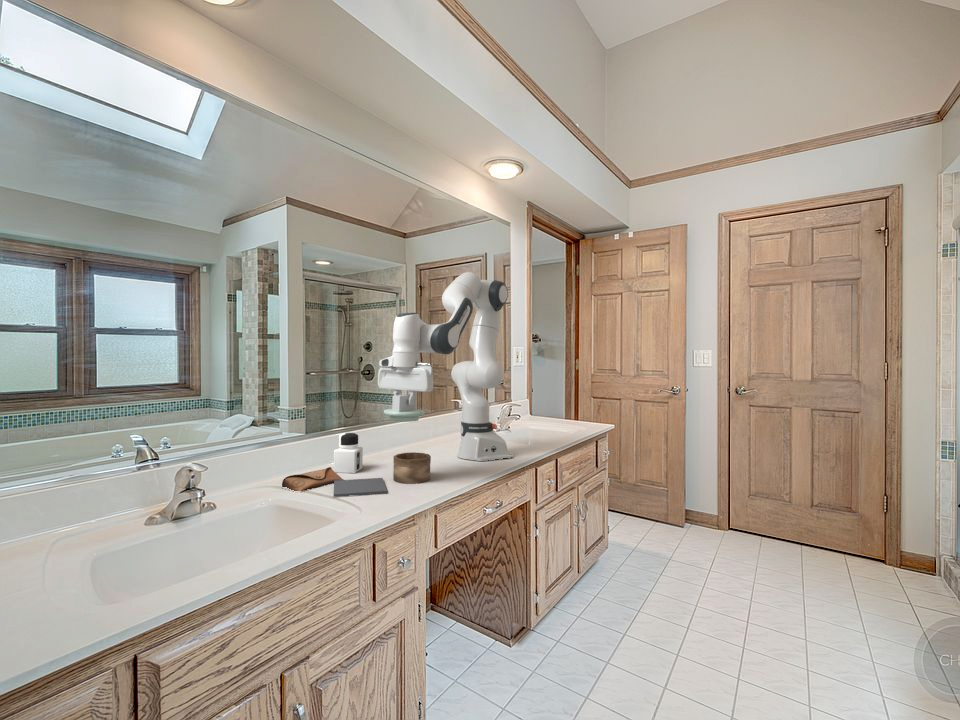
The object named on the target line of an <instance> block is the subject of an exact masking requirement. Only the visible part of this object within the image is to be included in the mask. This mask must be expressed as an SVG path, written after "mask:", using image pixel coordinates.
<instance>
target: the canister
mask: <svg viewBox="0 0 960 720" xmlns="http://www.w3.org/2000/svg"><path fill="white" fill-rule="evenodd" d="M431 458H432V457H431V455H430V454H429V453H424V452H413V451H412V452H402V453H397V454H394V455H393V470H392V471H393V474H392V475H393V477H392V478H393V481H394V482H395V483H398V484H404V485H405V484H406V485H413V484H414V485H415V484H416V483H417V484H422V483H423V484H424V483H427V482H429V481H430V480H431V460H432V459H431Z"/></svg>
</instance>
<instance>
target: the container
mask: <svg viewBox="0 0 960 720" xmlns="http://www.w3.org/2000/svg"><path fill="white" fill-rule="evenodd" d="M338 447H339V448H336V449H334V450H333V469H332V470H333V471H334V472H335V473H337V474H338V473H339V474H356V473H357V472H359V471H360V470H362V469H363V462H364V460H363V454H364V453H363V449H364V448H363V446H359V435H358V434H357V433H355V432H343V433H341V434H339V435H338Z"/></svg>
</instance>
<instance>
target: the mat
mask: <svg viewBox="0 0 960 720" xmlns="http://www.w3.org/2000/svg"><path fill="white" fill-rule="evenodd" d="M370 494H371V495H370ZM372 494H374V495H383V494H384V495H386V494H388V490H387V487H386V484H385V481H384V478H383V477H373V478H372V477H371V478H357V479H354V478H353V479H344V480H336V481H334V483H333V497H334V496H345V497H350V496H349V495H359V496H372Z"/></svg>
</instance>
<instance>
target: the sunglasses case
mask: <svg viewBox="0 0 960 720" xmlns="http://www.w3.org/2000/svg"><path fill="white" fill-rule="evenodd" d="M336 480H345V479H343V478H342V477H341V476H340V475H339V474H338V473H335V472H334V471H333V469H332V467H331V466H330V467H327V468H323V469H319V470H313V471H312V470H311V471H309V472H304V473H301V474H300V473H299V474H292V475H291V474H290V475H288V476H286V477H285V478H284V479H283V480H282V484H281V487H287V488H289V489H291V490H294V491H303V490H307V489H310V490H313V489H312V488H314V489H317V488H321V487H324V485H325V486H328V484H329V485H333V484H334V481H336ZM332 483H333V484H332ZM294 491H293V492H294ZM307 491H308V490H307Z"/></svg>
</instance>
